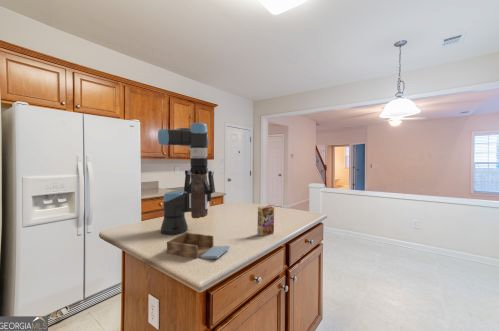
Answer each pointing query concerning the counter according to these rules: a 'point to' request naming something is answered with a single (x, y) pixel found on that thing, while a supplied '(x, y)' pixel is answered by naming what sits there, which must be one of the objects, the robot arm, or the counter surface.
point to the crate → (190, 245)
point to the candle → (198, 196)
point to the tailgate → (214, 252)
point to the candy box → (265, 220)
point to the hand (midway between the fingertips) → (199, 207)
